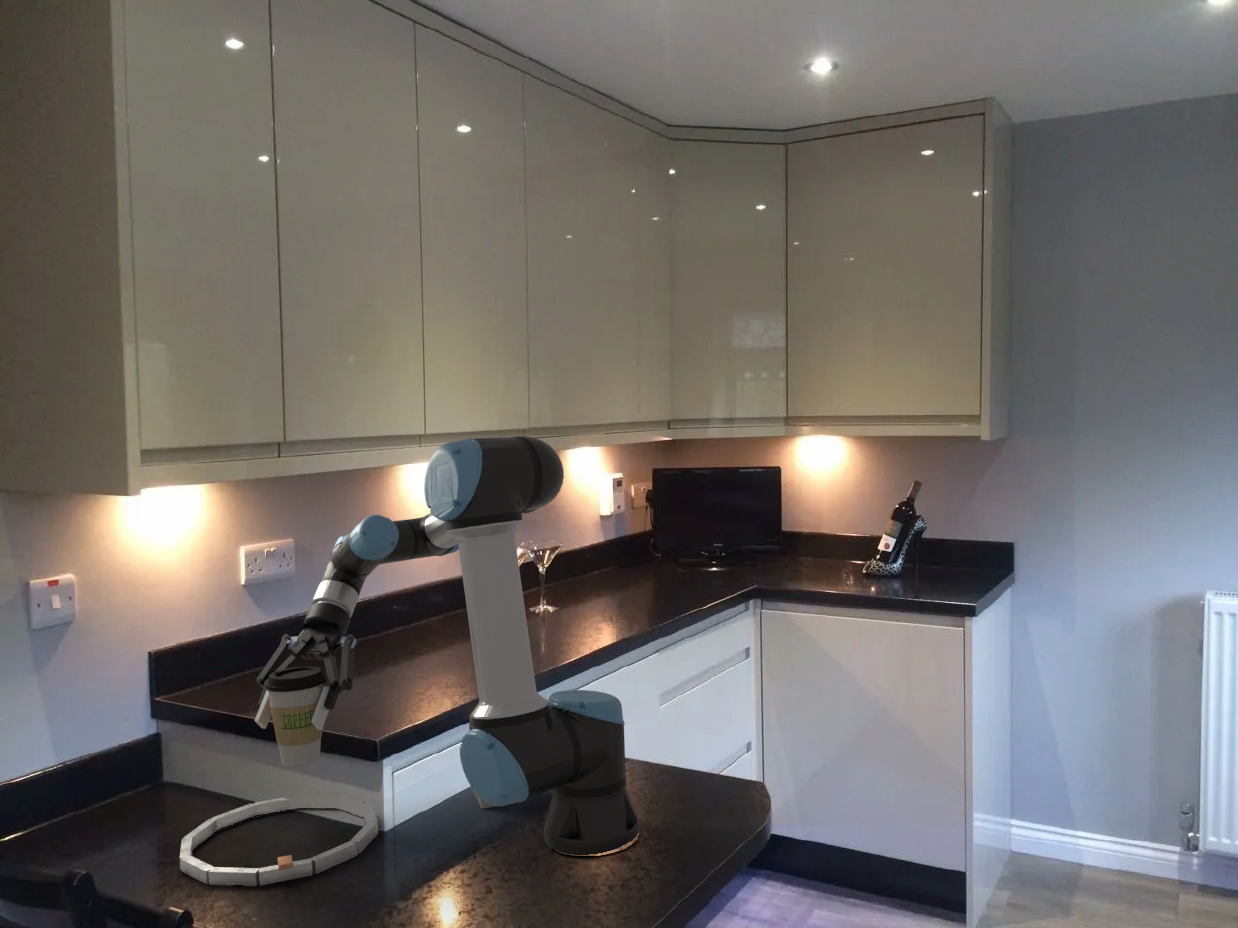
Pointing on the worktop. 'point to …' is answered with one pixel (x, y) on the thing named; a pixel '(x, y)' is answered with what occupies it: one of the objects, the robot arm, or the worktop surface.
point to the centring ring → (285, 864)
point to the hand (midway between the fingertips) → (288, 725)
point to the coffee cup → (296, 713)
